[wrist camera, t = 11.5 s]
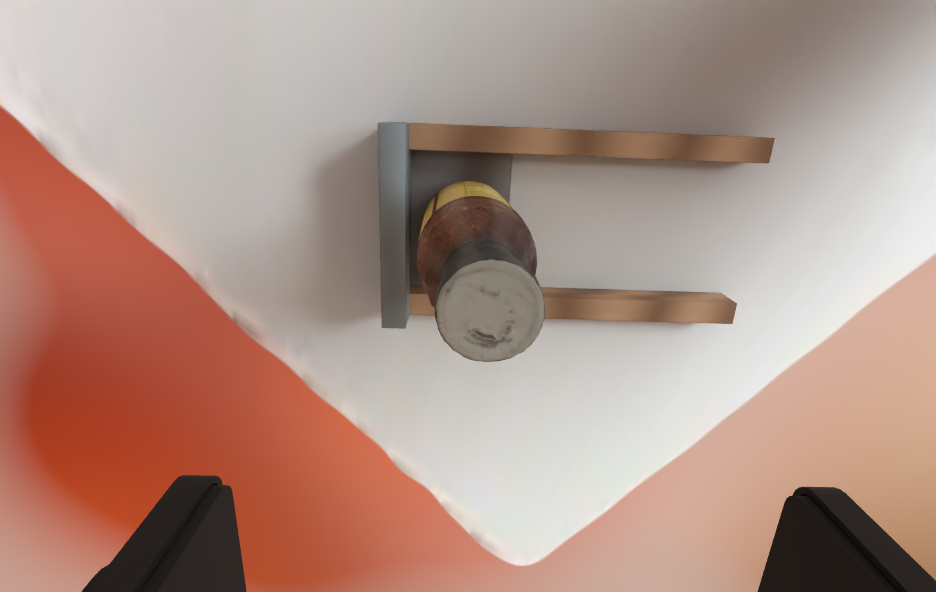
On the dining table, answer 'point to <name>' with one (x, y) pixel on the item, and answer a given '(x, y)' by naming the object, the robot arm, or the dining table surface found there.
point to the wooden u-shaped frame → (489, 162)
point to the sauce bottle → (480, 272)
